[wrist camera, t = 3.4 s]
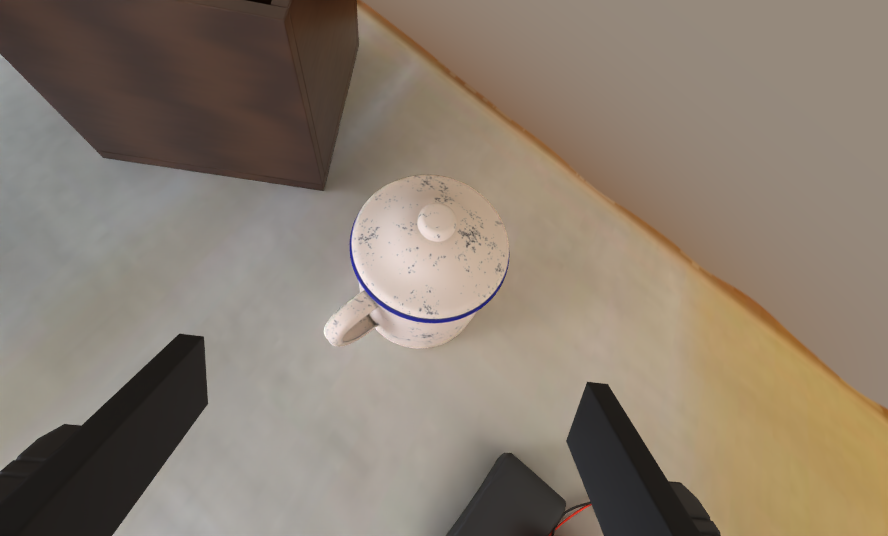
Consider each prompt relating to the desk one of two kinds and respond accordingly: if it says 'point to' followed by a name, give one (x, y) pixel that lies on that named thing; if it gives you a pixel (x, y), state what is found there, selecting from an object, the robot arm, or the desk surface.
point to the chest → (194, 79)
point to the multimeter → (513, 504)
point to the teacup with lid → (421, 263)
